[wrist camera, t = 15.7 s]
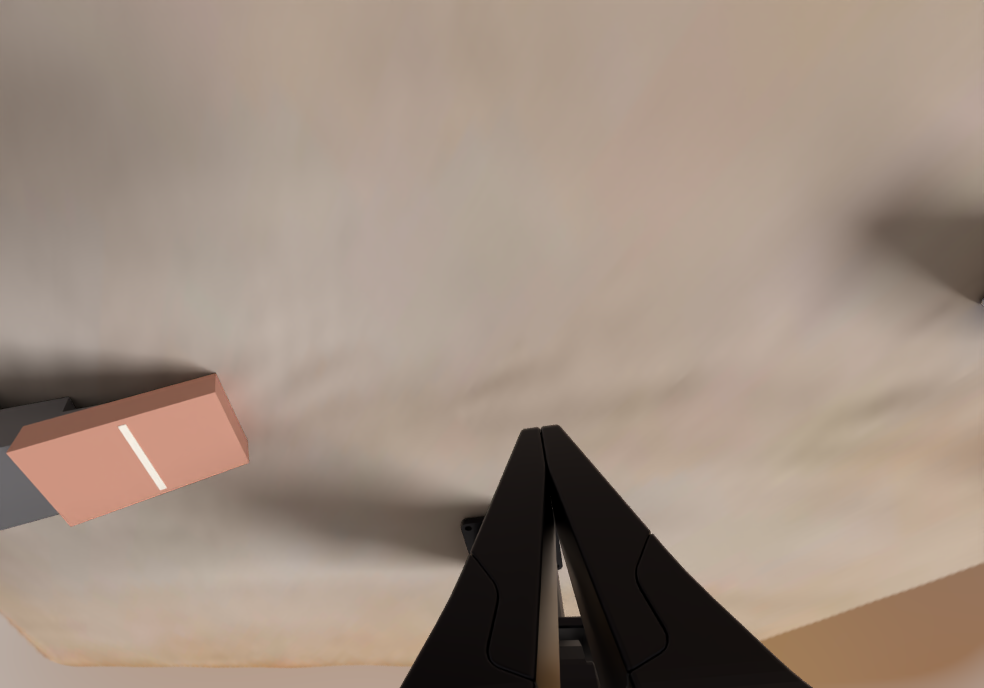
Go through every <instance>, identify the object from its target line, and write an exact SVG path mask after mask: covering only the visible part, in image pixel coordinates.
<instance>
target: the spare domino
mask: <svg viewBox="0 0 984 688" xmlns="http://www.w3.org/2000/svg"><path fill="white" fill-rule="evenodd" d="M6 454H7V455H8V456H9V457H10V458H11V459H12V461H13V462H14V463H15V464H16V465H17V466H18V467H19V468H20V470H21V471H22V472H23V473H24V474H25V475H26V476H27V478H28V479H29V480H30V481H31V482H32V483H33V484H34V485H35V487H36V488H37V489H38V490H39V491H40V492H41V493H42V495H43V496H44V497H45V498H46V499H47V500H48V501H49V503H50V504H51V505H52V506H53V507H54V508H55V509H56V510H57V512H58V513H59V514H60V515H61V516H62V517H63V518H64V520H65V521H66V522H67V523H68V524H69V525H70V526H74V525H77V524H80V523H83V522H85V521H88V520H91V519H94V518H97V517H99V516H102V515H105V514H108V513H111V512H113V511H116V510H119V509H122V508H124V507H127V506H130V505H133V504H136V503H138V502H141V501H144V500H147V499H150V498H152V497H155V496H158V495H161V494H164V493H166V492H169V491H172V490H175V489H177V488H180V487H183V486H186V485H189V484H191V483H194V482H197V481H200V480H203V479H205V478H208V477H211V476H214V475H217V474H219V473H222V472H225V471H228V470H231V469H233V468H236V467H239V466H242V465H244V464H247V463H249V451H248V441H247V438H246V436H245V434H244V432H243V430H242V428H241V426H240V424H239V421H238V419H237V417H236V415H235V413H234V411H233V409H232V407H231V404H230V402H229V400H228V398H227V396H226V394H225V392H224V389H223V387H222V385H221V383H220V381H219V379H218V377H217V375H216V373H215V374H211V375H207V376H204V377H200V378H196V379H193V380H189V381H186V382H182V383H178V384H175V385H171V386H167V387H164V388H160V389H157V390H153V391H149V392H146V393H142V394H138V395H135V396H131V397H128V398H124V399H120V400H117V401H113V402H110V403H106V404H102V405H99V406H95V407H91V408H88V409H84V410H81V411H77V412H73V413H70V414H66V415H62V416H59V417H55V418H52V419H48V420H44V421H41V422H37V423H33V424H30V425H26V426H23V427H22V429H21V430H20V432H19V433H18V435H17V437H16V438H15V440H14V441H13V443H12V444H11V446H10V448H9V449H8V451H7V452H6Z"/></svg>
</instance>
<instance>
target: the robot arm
mask: <svg viewBox="0 0 984 688" xmlns="http://www.w3.org/2000/svg"><path fill="white" fill-rule="evenodd" d="M551 501H552V502H551ZM552 508H553V509H552ZM461 530H462V533H463V536H464V539H465V542H466V546H467V549H468V552H469V556H468V558H467V560H466V563H465V565H464V567H463V570H462V572H461V574H460V577H459V579H458V581H457V583H456V585H455V587H454V590H453V592H452V594H451V596H450V598H449V600H448V602H447V604H446V606H445V608H444V610H443V611H442V613H441V615H440V617H439V619H438V621H437V623H436V625H435V626H434V628H433V630H432V632H431V633H430V635H429V637H428V639H427V641H426V642H425V644H424V646H423V648H422V649H421V651H420V653H419V655H418V657H417V658H416V660H415V662H414V664H413V665H412V667H411V669H410V671H409V673H408V674H407V676H406V678H405V680H404V681H403V683H402V685H401V687H400V688H813V687H811V686H810V685H808V684H807V683H806V682H804V681H803V680H802V679H801V678H800V677H798V676H797V675H796V674H795V673H793V672H792V671H791V670H790V669H789V668H788V667H787V666H785V665H784V664H783V663H782V662H781V661H780V660H779V659H778V658H777V657H776V656H775V655H773V653H771V652H770V651H769V650H768V649H767V648H766V647H765V646H764V645H763V644H762V643H761V642H760V641H759V640H758V639H757V638H756V637H754V636H753V635H752V634H751V633H750V632H749V631H748V630H747V629H746V628H745V627H744V626H743V625H742V624H741V623H740V622H739V621H737V620H736V619H735V618H734V617H733V616H732V615H731V614H730V613H729V612H728V611H727V610H726V609H725V608H724V607H723V606H721V605H720V604H719V603H718V602H717V601H716V600H715V599H714V598H713V597H712V596H711V595H710V594H709V593H708V592H707V591H706V590H705V589H704V588H703V587H702V586H701V585H700V584H699V583H698V582H697V581H696V580H695V579H694V578H693V577H692V576H691V575H690V574H689V573H688V572H687V571H686V570H685V569H684V568H683V567H682V566H681V565H680V564H679V563H678V562H677V560H676V559H675V558H674V557H673V556H672V555H671V554H670V553H669V552H668V551H667V549H666V548H665V547H664V546H663V545H662V544H661V543H660V541H659V540H658V539H657V538H656V537H655V536H654V535H653V534H651V532H650V530H649V529H648V528H647V527H646V525H645V524H644V523H643V522H642V521H641V520H640V518H639V517H638V516H637V515H636V514H635V513H634V511H633V510H632V509H631V508H630V507H629V506H628V504H627V503H626V502H625V501H624V500H623V499H622V497H621V496H620V495H619V494H618V493H617V492H616V490H615V489H614V488H613V487H612V486H611V485H610V484H609V482H608V481H607V480H606V479H605V478H604V477H603V475H602V474H601V473H600V472H599V471H598V470H597V468H596V467H595V466H594V465H593V464H592V463H591V461H590V460H589V459H588V458H587V457H586V456H585V454H584V453H583V452H582V451H581V450H580V449H579V447H578V446H577V445H576V444H575V443H574V442H573V440H572V439H571V438H570V437H569V436H568V435H567V434H566V432H565V431H564V430H563V429H562V428H561V427H560V426H559V425H549V426H543V427H541V430H540V428H538V427H534V428H527V429H523V430H522V431H521V432H520V435H519V437H518V439H517V442H516V444H515V447H514V449H513V451H512V454H511V456H510V458H509V461H508V463H507V466H506V468H505V470H504V473H503V475H502V477H501V480H500V482H499V485H498V487H497V489H496V492H495V494H494V496H493V499H492V501H491V504H490V506H489V508H488V511H487V513H486V516H485V517H478V518H470V519H465V520H463V521H462V523H461ZM559 541H560V544H561V548H562V551H563V555H564V559H565V562H566V566H567V569H568V573H569V576H570V580H571V583H572V587H573V590H574V594H575V597H576V601H577V604H578V608H579V611H580V615H581V616H579V617H565V616H564V609H563V602H562V596H561V589H560V582H559V576H558V570H559V569H561V568H562V566H563V565H562V558H561V551H560V544H559Z"/></svg>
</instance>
